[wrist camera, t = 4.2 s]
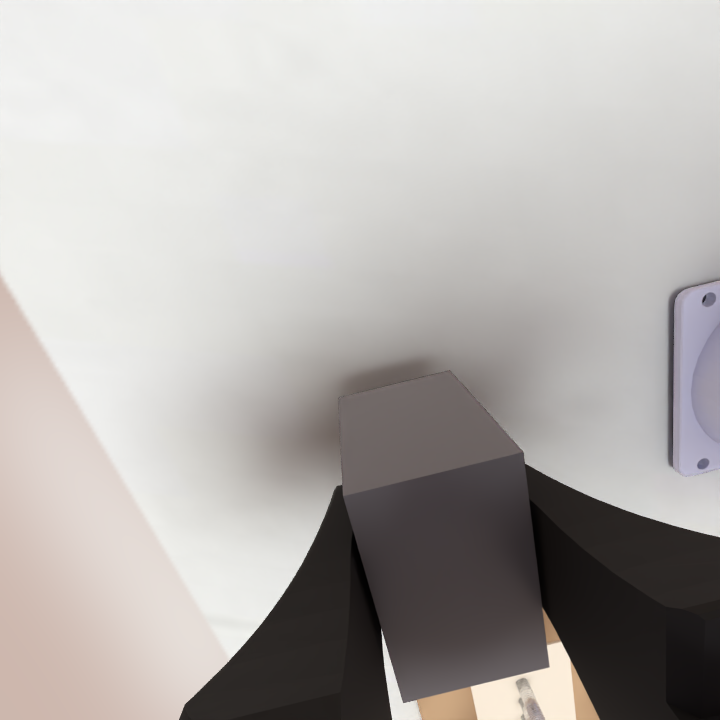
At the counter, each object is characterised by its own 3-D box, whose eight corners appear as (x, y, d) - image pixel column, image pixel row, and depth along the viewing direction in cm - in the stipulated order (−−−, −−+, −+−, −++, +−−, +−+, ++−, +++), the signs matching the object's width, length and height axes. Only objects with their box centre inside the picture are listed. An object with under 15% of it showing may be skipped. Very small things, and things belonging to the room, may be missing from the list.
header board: (603, 543, 18) (651, 595, 16) (614, 740, 22) (653, 808, 20) (390, 596, 18) (401, 658, 15) (441, 784, 22) (456, 857, 20)
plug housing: (449, 370, 13) (523, 452, 8) (476, 524, 14) (549, 667, 10) (338, 397, 13) (342, 496, 8) (378, 548, 14) (403, 703, 10)
